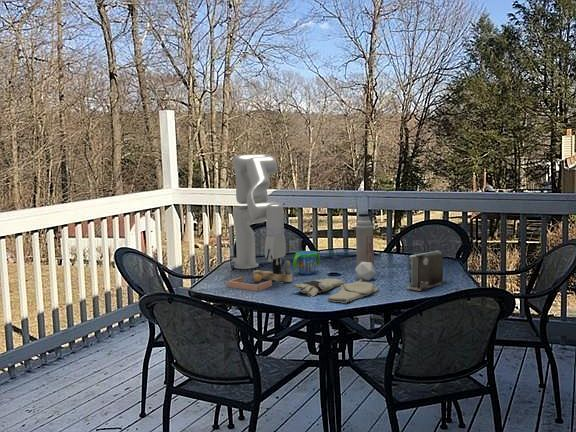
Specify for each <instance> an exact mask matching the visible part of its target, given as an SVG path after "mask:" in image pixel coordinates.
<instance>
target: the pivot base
mask: <svg viewBox="0 0 576 432" xmlns="http://www.w3.org/2000/svg"><path fill="white" fill-rule="evenodd" d="M274 283H275V284H286V283H288V282H285V281H277V280H274Z"/></svg>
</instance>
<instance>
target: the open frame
mask: <svg viewBox="0 0 576 432" xmlns="http://www.w3.org/2000/svg"><path fill="white" fill-rule="evenodd" d="M226 287H227V288H229V289H230V288H232V289H238V290H239V289H240V290H247V291H253V292H259V291H262V290H265V289H267V288H270V287H273V280H266V281H263V282H261V283H258V284H256V283H254V284H253V283H247V282H244V276H239V277H237V278H233V279H231V280H227V281H226Z"/></svg>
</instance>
